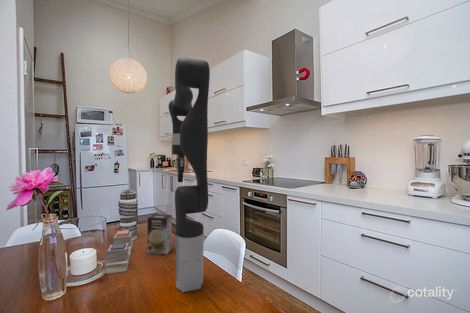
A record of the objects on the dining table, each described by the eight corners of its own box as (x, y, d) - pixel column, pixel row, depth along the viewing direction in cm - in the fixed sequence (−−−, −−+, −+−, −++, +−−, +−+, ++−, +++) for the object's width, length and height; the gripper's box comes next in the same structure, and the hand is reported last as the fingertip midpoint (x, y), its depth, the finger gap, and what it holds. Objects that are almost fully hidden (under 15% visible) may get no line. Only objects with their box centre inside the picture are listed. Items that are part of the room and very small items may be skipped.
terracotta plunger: (127, 243, 102) (127, 233, 102) (116, 244, 101) (116, 234, 101) (128, 240, 106) (128, 229, 106) (118, 241, 105) (118, 230, 105)
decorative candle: (119, 236, 123) (119, 188, 122) (138, 234, 125) (138, 188, 125) (116, 242, 114) (116, 191, 114) (136, 240, 117) (136, 191, 116)
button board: (126, 270, 87) (126, 250, 87) (105, 273, 84) (105, 253, 84) (132, 246, 109) (132, 230, 109) (115, 248, 107) (115, 232, 107)
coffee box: (146, 254, 101) (146, 217, 101) (153, 248, 108) (153, 213, 107) (166, 255, 100) (166, 218, 100) (172, 249, 107) (172, 214, 106)
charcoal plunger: (123, 259, 89) (123, 247, 89) (111, 261, 87) (111, 248, 87) (125, 254, 93) (125, 243, 93) (113, 256, 92) (113, 244, 92)
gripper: (190, 143, 101) (190, 183, 101) (186, 144, 114) (186, 180, 114) (173, 143, 99) (173, 184, 99) (171, 144, 111) (170, 180, 111)
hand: (180, 181), depth 106 cm, fingers closed
